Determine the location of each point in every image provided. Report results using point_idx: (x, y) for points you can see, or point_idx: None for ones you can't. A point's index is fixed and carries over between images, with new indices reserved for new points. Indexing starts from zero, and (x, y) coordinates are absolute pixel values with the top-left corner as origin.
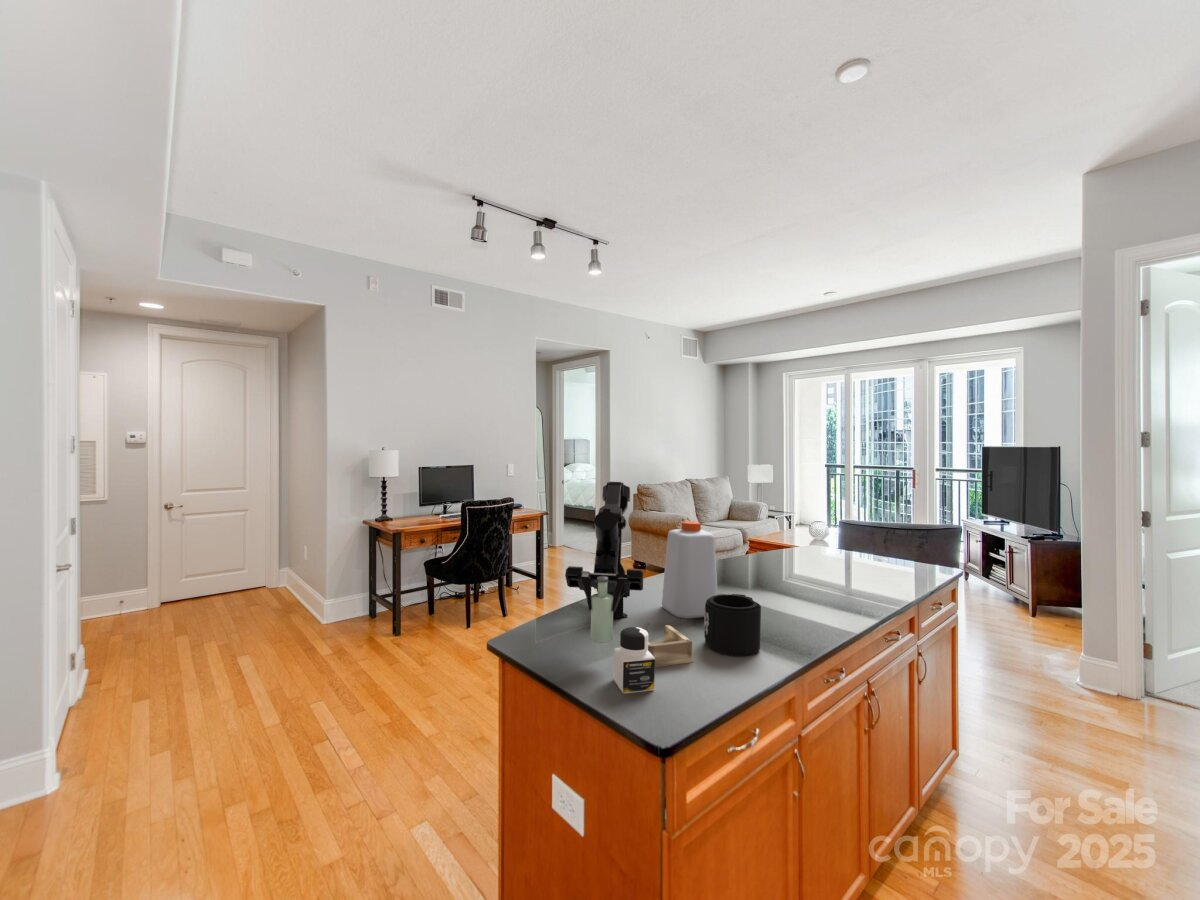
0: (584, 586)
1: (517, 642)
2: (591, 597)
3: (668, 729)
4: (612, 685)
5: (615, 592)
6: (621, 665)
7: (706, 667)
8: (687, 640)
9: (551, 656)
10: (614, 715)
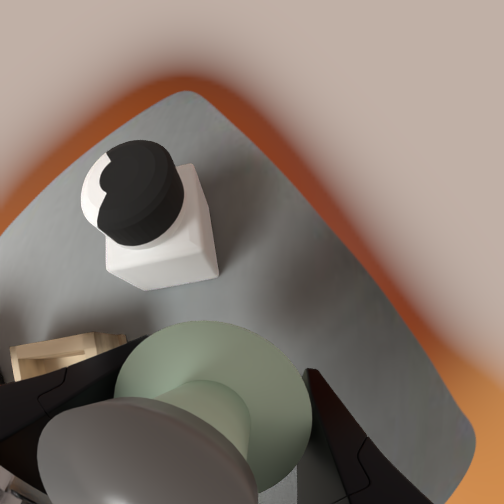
0: (402, 479)
1: (442, 470)
2: (311, 409)
3: (165, 115)
4: (225, 247)
5: (78, 388)
6: (198, 184)
7: (27, 320)
8: (14, 354)
9: (378, 416)
10: (238, 140)
